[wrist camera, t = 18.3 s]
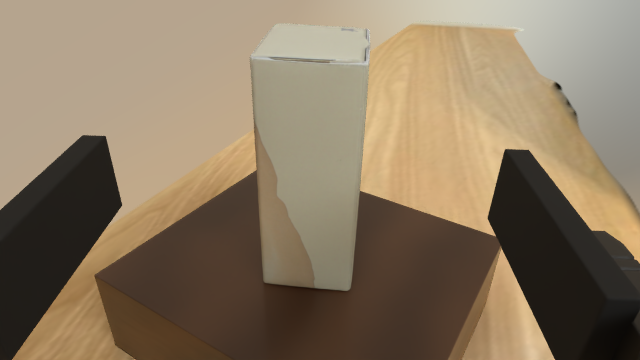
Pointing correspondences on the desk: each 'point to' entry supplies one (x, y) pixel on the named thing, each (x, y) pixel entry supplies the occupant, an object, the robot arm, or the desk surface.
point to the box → (309, 150)
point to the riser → (299, 289)
